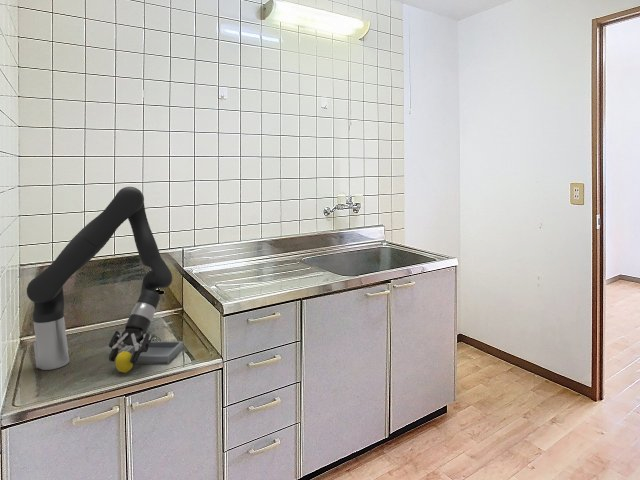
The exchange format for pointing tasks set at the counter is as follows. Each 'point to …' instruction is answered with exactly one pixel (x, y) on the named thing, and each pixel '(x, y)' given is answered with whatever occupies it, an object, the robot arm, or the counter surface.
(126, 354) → the lemon
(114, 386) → the counter surface
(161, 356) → the tray
